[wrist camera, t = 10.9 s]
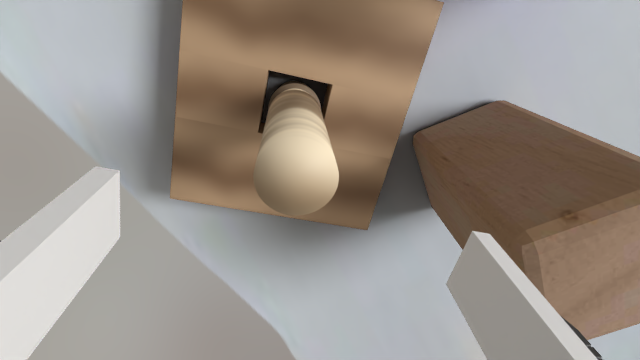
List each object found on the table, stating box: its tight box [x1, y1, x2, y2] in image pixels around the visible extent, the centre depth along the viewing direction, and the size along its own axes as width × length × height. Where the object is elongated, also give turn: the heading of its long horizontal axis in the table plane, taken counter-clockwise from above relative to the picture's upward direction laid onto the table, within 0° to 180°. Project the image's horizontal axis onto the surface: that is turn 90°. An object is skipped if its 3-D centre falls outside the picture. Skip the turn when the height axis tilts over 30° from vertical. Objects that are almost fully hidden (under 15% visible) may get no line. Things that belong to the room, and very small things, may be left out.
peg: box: [253, 81, 339, 215], centre depth 26 cm, size 5×5×18 cm
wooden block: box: [413, 101, 640, 340], centre depth 29 cm, size 10×10×20 cm
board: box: [170, 0, 444, 230], centre depth 33 cm, size 22×20×4 cm
